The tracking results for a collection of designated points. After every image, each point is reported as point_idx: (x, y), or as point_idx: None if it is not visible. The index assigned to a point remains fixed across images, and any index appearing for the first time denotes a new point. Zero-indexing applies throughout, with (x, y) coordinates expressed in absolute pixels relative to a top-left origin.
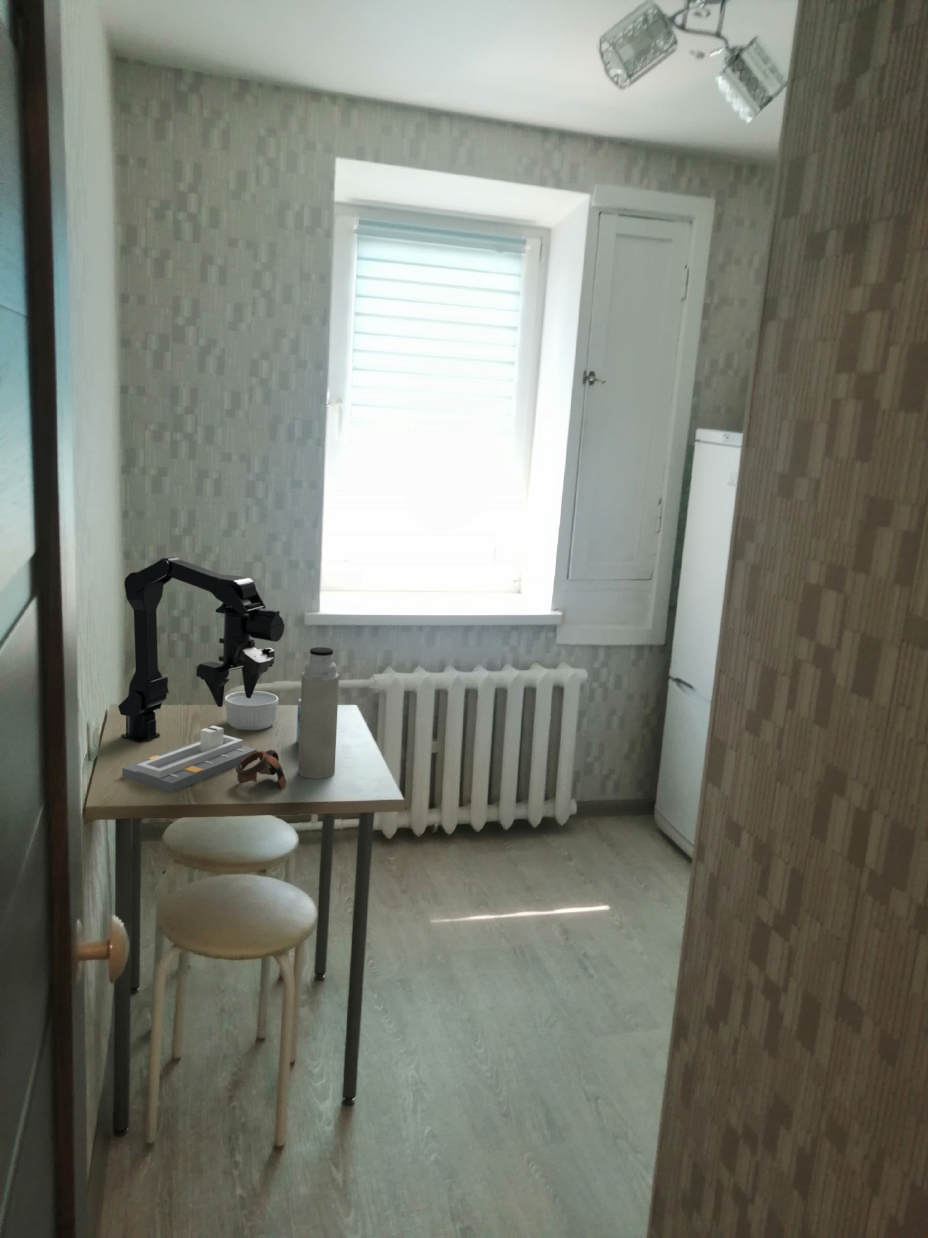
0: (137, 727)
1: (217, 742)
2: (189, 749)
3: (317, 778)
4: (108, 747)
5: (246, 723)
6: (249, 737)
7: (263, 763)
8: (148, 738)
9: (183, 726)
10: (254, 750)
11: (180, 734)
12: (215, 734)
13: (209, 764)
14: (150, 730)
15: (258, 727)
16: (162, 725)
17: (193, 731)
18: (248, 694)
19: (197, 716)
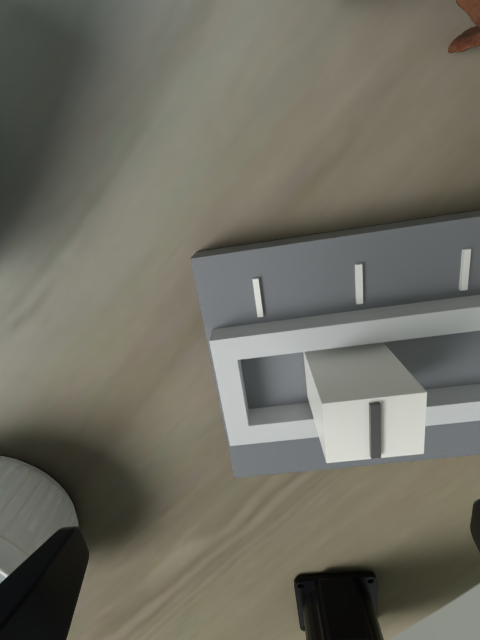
0: (377, 632)
1: (350, 363)
2: (443, 401)
3: None
4: (450, 589)
5: (44, 496)
6: (84, 427)
7: None
8: (347, 576)
9: (191, 592)
10: (207, 256)
11: (240, 558)
12: (381, 385)
13: (478, 250)
14: (347, 603)
15: (13, 463)
16: (229, 621)
17: (195, 555)
18: (63, 574)
19: (110, 620)
